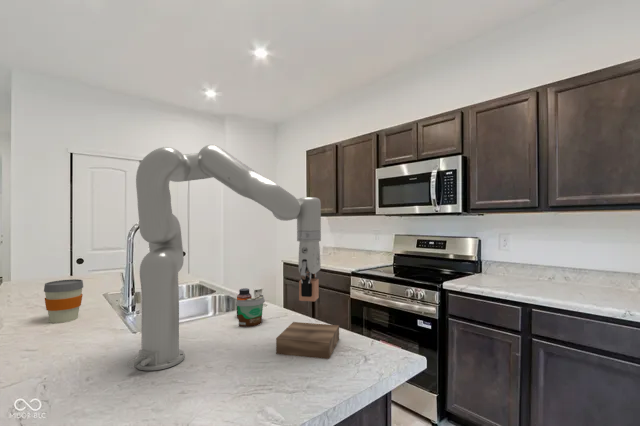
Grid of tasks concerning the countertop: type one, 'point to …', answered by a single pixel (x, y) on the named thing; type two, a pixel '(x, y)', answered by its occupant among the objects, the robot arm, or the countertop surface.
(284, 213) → the robot arm
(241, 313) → the food container
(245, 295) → the supplement bottle
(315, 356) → the walnut block
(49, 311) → the reusable coffee cup
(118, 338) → the countertop surface
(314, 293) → the terracotta block
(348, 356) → the countertop surface
